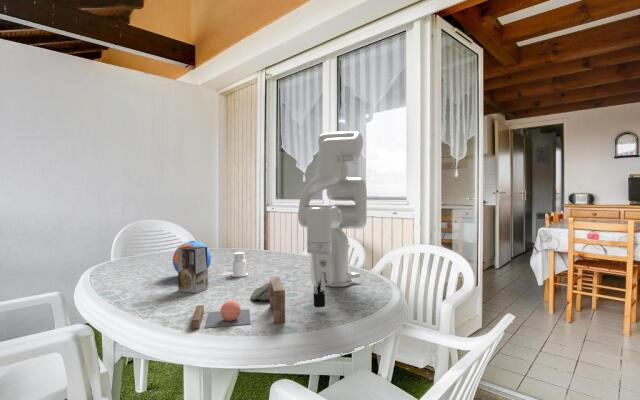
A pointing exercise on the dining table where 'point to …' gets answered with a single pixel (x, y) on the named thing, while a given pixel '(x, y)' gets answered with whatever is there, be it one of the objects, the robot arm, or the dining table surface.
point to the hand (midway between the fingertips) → (319, 306)
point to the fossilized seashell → (262, 293)
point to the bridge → (277, 300)
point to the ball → (230, 311)
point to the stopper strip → (197, 317)
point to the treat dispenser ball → (190, 243)
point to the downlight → (239, 265)
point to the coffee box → (192, 269)
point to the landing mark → (218, 321)
